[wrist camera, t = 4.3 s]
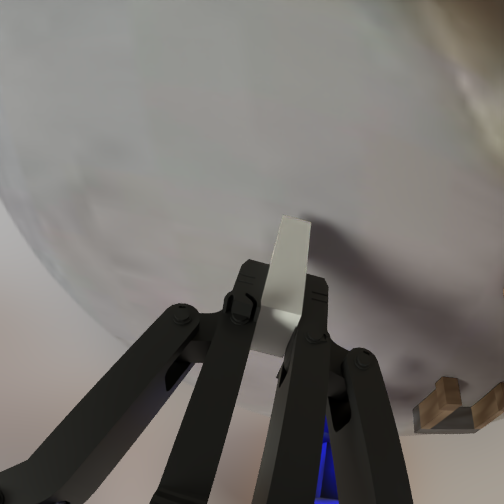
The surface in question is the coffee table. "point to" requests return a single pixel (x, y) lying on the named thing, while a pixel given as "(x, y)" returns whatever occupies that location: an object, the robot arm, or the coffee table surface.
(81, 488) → the robot arm
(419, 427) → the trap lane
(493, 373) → the coffee table surface
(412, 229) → the coffee table surface
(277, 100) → the coffee table surface
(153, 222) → the coffee table surface
